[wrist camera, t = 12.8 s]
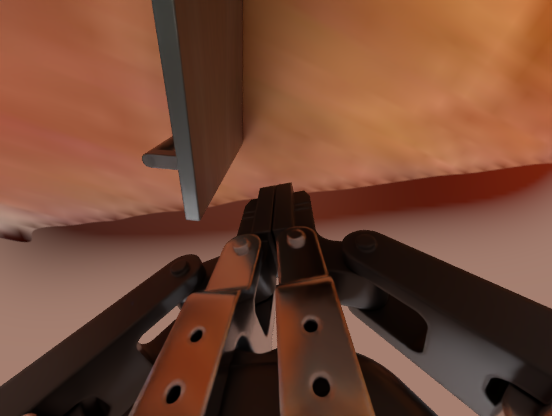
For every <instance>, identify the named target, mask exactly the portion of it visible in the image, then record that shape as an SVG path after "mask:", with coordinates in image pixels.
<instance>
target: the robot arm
mask: <svg viewBox="0 0 552 416" xmlns="http://www.w3.org/2000/svg"><path fill="white" fill-rule="evenodd" d="M277 277H278V278H279V285H276V278H277ZM341 305H344V306H348V308H349V310H350V311H351V312H352V313H353V314H354V315H355V316H356V317H357V318H359V319H360V320H361V321H363V322H364V323H365V324H366V325H368V326H369V327H370V328H371V329H373V330H374V331H375V332H376V333H378V334H379V335H380V336H381V337H382V338H384V339H385V340H386V341H387V342H389V343H390V344H391V345H392V346H394V347H395V348H396V349H397V350H399V351H400V352H401V353H402V354H403V355H405V356H406V357H407V358H408V359H410V360H411V361H412V362H413V363H415V364H416V365H417V366H418V367H420V368H421V369H422V370H423V371H425V372H426V373H427V374H428V375H430V376H431V377H432V378H433V379H435V380H436V381H437V382H438V383H440V384H441V385H442V386H443V387H444V388H446V389H447V390H448V391H450V392H451V393H452V394H453V395H454V396H456V397H457V398H458V399H459V400H461V401H462V402H463V403H464V404H466V405H467V406H468V407H469V408H471V409H472V410H473V411H474V412H476V413H477V414H478V415H479V416H552V309H551V308H548V307H546V306H544V305H541V304H539V303H537V302H535V301H533V300H530V299H528V298H526V297H523V296H521V295H519V294H517V293H514V292H512V291H510V290H508V289H505V288H503V287H501V286H499V285H496V284H494V283H492V282H489V281H487V280H485V279H483V278H480V277H478V276H476V275H473V274H471V273H469V272H466V271H464V270H462V269H460V268H458V267H455V266H453V265H451V264H448V263H446V262H444V261H442V260H439V259H437V258H435V257H432V256H430V255H428V254H426V253H424V252H421V251H419V250H416V249H414V248H412V247H410V246H408V245H405V244H403V243H401V242H399V241H396V240H394V239H392V238H389V237H387V236H385V235H383V234H380V233H378V232H375V231H370V230H360V231H356V232H352V233H350V234H348V235H347V236H346V237H345V238H344V239H343V241H332V240H328V239H325V238H323V237H321V236H320V235H319V234H318V233H317V232H316V229H315V224H314V218H313V212H312V207H311V201H310V196H309V195H308V194H307V193H306V192H305V191H298V192H294V191H293V186H292V183H285V184H279V185H276V186H275V185H274V186H269V187H263V188H260V191H259V195H258V199H253V200H251V201H250V202H249V203H248V204H247V205H246V206H245V209H244V214H243V217H242V220H241V223H240V227H239V230H238V234H237V236H236V237H235V238H233V239H231V240H230V241H228V242H227V243H226V245H225V246H224V248H223V250H222V252H221V255H220V256H219V257H216V258H214V259H211V260H209V261H206V262H203V263H202V262H201V260H200V258H199V257H198V256H196V255H192V254H189V255H184V256H181V257H179V258H177V259H175V260H173V261H172V262H170V263H169V264H167V265H166V266H165V267H163V268H162V269H161V270H159V271H158V272H156V273H155V274H154V275H153V276H151V277H150V278H148V279H147V280H145V281H144V282H143V283H141V284H140V285H139V286H137V287H136V288H135V289H133V290H132V291H130V292H129V293H128V294H127V295H125V296H124V297H122V298H121V299H119V300H118V301H117V302H115V303H114V304H113V305H111V306H110V307H109V308H107V309H106V310H104V311H103V312H102V313H101V314H99V315H98V316H96V317H95V318H94V319H92V320H91V321H89V322H88V323H87V324H85V325H84V326H83V327H81V328H80V329H78V330H77V331H76V332H74V333H73V334H72V335H70V336H69V337H67V338H66V339H65V340H63V341H62V342H61V343H59V344H58V345H56V346H55V347H54V348H52V349H51V350H50V351H48V352H47V353H46V354H44V355H43V356H42V357H40V358H39V359H37V360H36V361H35V362H33V363H32V364H31V365H29V366H28V367H26V368H25V369H24V370H22V371H21V372H20V373H18V374H17V375H15V376H14V377H13V378H11V379H10V380H9V381H7V382H6V383H4V384H3V385H2V386H0V416H438V415H437V414H436V413H435V412H434V411H433V410H431V409H430V408H429V407H428V406H427V405H426V404H425V403H424V402H423V401H422V400H421V399H420V398H419V397H418V396H417V395H416V394H415V393H414V392H413V391H411V390H410V389H409V388H408V387H407V386H406V385H405V384H404V383H403V382H402V381H401V380H400V379H399V378H398V377H396V376H395V375H394V374H393V373H392V372H390V371H389V370H388V369H386V368H385V367H384V366H382V365H381V364H379V363H377V362H376V361H374V360H372V359H370V358H368V357H366V356H364V355H361V354H359V353H356V352H355V349H354V346H353V343H352V339H351V336H350V333H349V330H348V327H347V323H346V320H345V317H344V314H343V311H342V307H341ZM175 306H178V307H179V309H180V310H181V311H180V313H179V315H178V317H177V319H176V320H174V321H173V322H172V323H171V324H170V325H169V326H168V327H167V328H166V329H164V330H163V331H162V332H161V333H160V334H159V335H158V336H157V337H156V338H155V339H154V340H152V341H151V342H149V343H147V344H140V343H138V341H139V339H140V337H141V336H142V335H143V334H144V333H145V332H146V331H148V330H149V329H150V328H151V327H152V326H153V325H155V324H156V323H157V322H158V321H159V320H160V319H161V318H163V317H164V316H165V315H166V314H167V313H168V312H170V311H171V310H172V309H173V308H174V307H175ZM275 311H276V324H277V348H276V349H274V350H272V335H273V327H274V319H275Z"/></svg>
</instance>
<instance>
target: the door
mask: <svg viewBox="0 0 552 416" xmlns="http://www.w3.org/2000/svg"><path fill="white" fill-rule="evenodd" d="M152 7H153V13H154V19H155V26H156V32H157V39H158V45H159V51H160V58H161V64H162V70H163V77H164V83H165V89H166V96H167V102H168V108H169V115H170V121H171V127H172V134H173V136H172V137H170V138H169V139H167V140H166V141H164V142H162V143H161V144H159V145H158V146H156V147H155V148H153V149H152V150H150V151H148V152H147V153H145V154H144V155H143V156H142V161H143V163H144V164H145V165H146V166H148V167H151V168H162V169H173V170H178V172H179V178H180V185H181V191H182V197H183V204H184V210H185V216H186V220H196V221H200V220H201V218H202V216H203V214H204V213H205V211H206V209H207V207H208V205H209V204H210V202H211V200H212V198H213V196H214V194H215V193H216V191H217V189H218V187H219V185H220V184H221V182H222V180H223V178H224V176H225V175H226V173H227V171H228V169H229V167H230V165H231V164H232V162H233V160H234V158H235V156H236V155H237V153H238V151H239V149H240V147H241V146H242V71H243V0H152Z"/></svg>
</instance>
